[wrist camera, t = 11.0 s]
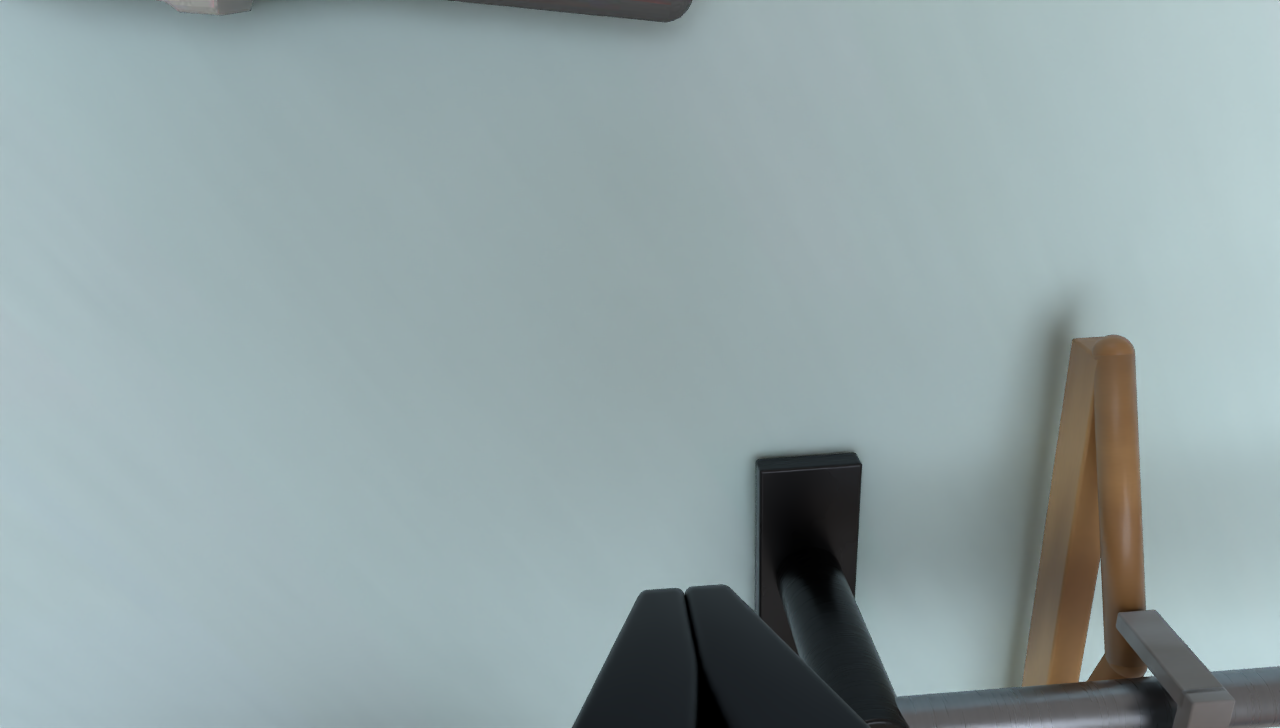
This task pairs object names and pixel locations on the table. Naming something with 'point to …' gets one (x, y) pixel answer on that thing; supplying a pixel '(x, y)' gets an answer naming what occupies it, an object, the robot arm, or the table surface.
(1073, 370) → the hanger
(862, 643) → the clothes rail
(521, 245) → the table surface
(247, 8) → the red grey toy car
